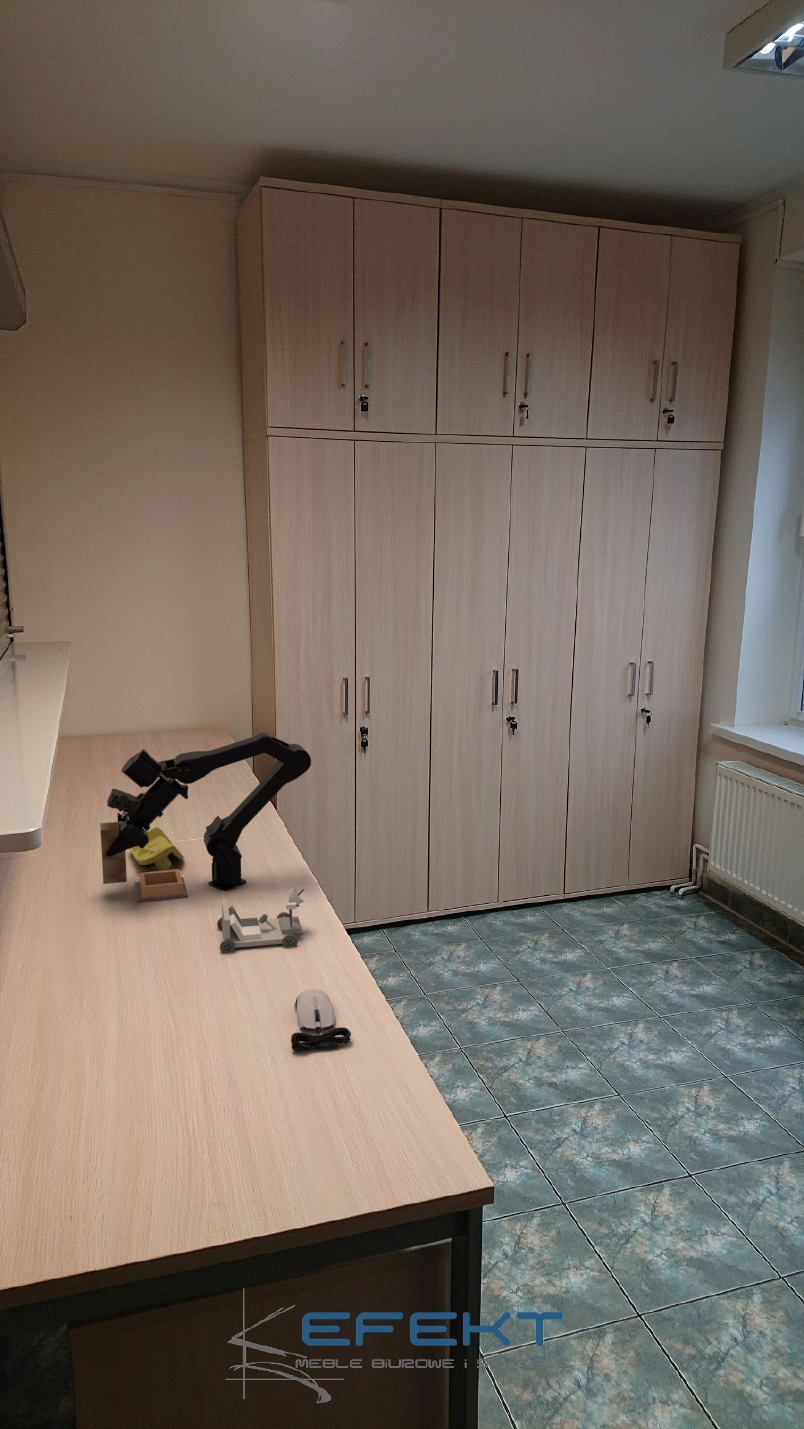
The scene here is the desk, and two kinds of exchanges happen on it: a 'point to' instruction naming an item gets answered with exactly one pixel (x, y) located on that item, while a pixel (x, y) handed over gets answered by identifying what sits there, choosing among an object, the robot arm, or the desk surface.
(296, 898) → the toy car
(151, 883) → the socket board
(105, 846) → the walnut post
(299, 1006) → the computer mouse
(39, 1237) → the desk surface
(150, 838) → the plastic component
